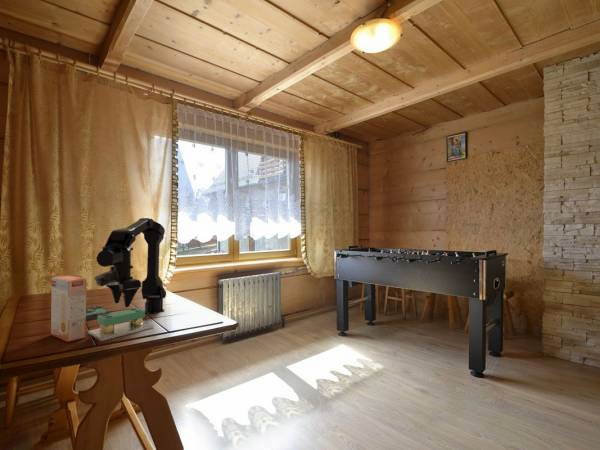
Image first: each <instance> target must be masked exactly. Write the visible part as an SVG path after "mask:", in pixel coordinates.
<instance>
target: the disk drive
mask: <svg viewBox="0 0 600 450" xmlns="http://www.w3.org/2000/svg"><path fill="white" fill-rule="evenodd" d="M109 313H111V311H110V310H109V309H107V308H104V307H102V306H99V305H93V306H88V307H87V306H86V321H87V322H88V321H91V320H95V319H96V320H97V316H99V315H104V314H109Z"/></svg>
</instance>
